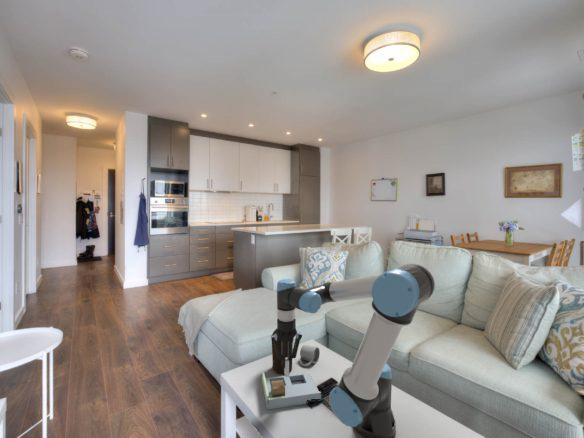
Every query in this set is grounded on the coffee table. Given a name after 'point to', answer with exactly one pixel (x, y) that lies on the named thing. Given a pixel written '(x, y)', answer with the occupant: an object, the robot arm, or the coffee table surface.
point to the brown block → (277, 388)
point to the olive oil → (278, 363)
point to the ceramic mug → (309, 354)
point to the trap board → (291, 390)
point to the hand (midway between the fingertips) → (286, 374)
